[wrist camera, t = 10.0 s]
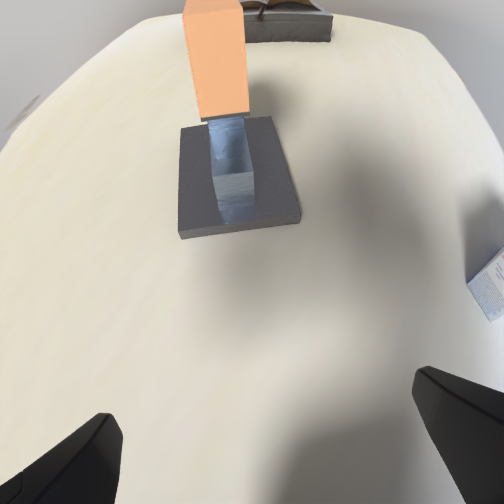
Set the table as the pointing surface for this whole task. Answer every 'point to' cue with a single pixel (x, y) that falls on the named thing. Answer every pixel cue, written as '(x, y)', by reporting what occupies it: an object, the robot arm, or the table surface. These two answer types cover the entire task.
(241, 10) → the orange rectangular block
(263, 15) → the bible
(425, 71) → the table surface
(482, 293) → the medicine box
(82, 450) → the robot arm
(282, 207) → the stand
